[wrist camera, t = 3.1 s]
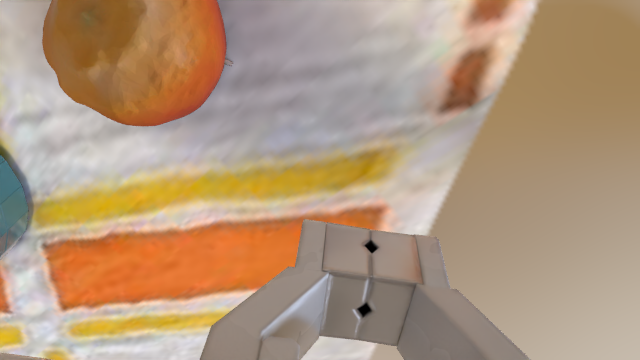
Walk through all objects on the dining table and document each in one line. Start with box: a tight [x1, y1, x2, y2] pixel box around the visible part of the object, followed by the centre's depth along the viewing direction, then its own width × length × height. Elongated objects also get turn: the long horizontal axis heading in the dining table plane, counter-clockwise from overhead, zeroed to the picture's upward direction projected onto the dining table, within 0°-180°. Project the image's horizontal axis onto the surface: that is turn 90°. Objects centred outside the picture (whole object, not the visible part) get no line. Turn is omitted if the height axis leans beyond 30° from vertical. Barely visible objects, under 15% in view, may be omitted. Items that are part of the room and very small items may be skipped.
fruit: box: [42, 0, 233, 126], centre depth 22 cm, size 8×8×8 cm
